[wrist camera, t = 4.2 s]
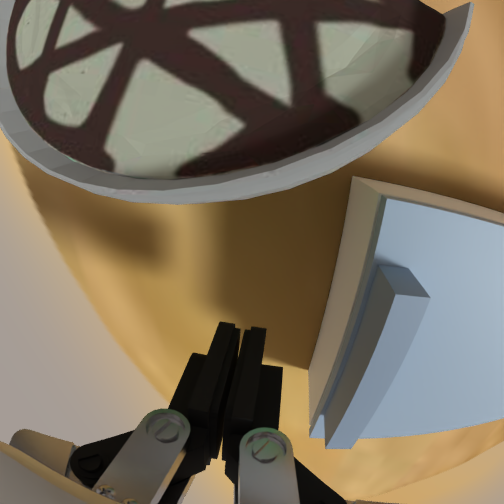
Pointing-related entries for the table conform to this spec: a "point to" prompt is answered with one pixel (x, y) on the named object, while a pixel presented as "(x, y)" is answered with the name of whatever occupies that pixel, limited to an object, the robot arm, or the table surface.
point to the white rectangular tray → (363, 268)
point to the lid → (421, 330)
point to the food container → (214, 89)
